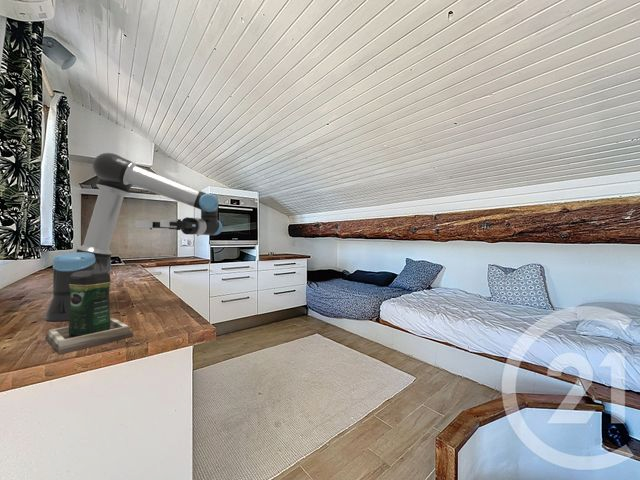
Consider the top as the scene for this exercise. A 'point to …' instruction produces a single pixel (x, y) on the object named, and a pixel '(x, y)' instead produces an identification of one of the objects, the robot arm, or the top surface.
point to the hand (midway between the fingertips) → (148, 223)
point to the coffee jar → (89, 302)
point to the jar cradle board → (87, 337)
